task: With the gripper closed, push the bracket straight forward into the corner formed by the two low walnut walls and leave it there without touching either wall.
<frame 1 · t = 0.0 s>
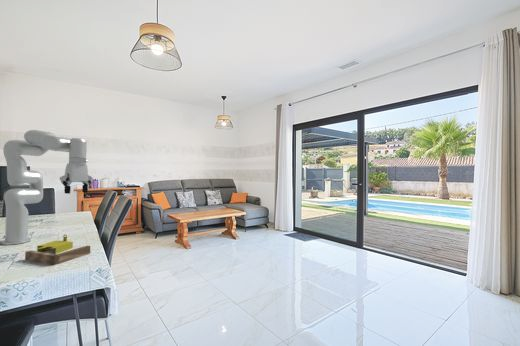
hand: (76, 192, 134), 31 cm above the table, tool pointing down, fingers open, 9 cm apart
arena: (57, 256, 124), on the table
bracket: (52, 252, 132), on the table
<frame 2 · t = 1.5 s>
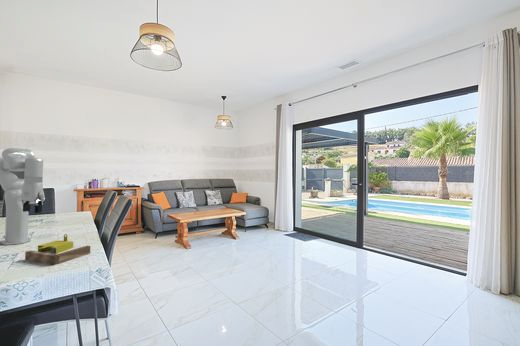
hand: (32, 211, 136), 20 cm above the table, tool pointing down, fingers open, 8 cm apart
nothing on the table moved.
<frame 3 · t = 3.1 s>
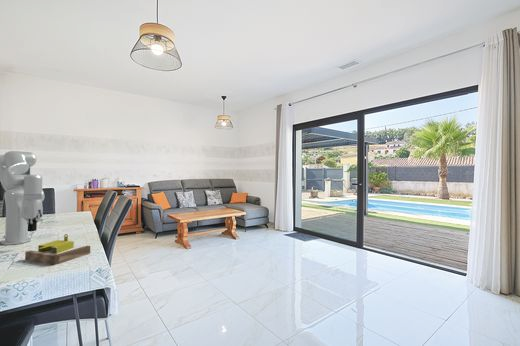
hand: (32, 230, 136), 10 cm above the table, tool pointing down, fingers closed
nothing on the table moved.
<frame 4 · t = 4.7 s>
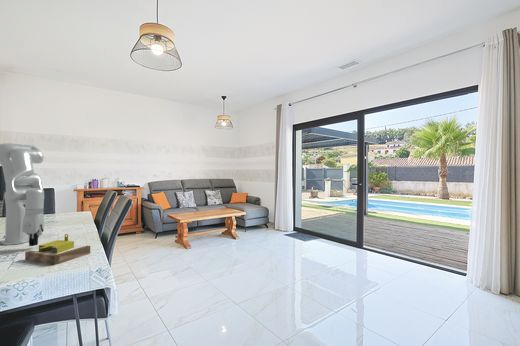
hand: (33, 245, 135), 2 cm above the table, tool pointing down, fingers closed
nothing on the table moved.
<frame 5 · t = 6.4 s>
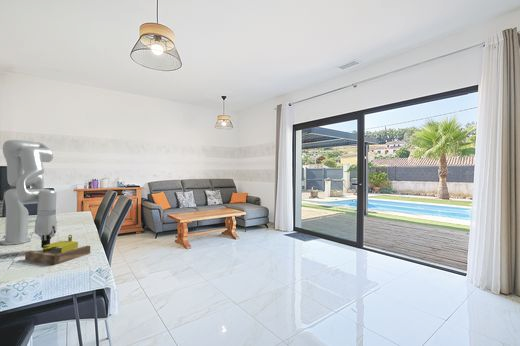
hand: (45, 247, 133), 2 cm above the table, tool pointing down, fingers closed
bracket: (57, 252, 133), on the table, touching gripper
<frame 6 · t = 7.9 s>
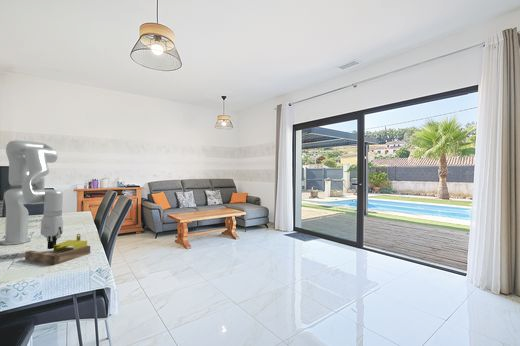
hand: (51, 248, 132), 2 cm above the table, tool pointing down, fingers closed
bracket: (68, 251, 134), on the table
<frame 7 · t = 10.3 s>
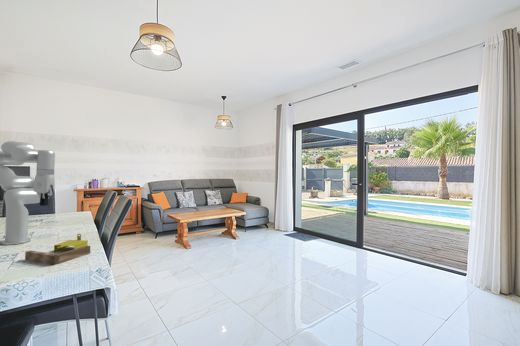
hand: (43, 205, 138), 23 cm above the table, tool pointing down, fingers closed
nothing on the table moved.
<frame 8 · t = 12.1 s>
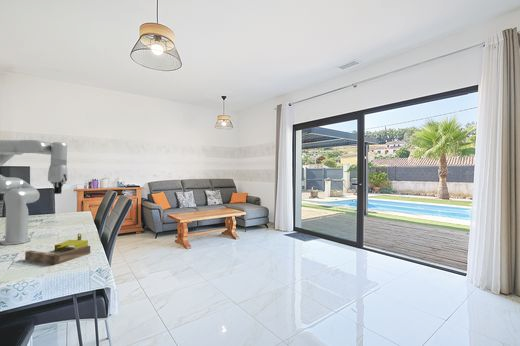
hand: (57, 193, 149), 29 cm above the table, tool pointing down, fingers closed
nothing on the table moved.
at the end: bracket inside the target area (5.0 cm from its centre), on the table; bracket touching table; bracket moved 7.4 cm from its start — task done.
